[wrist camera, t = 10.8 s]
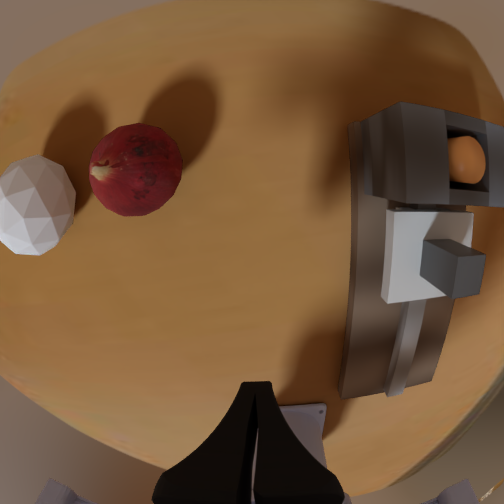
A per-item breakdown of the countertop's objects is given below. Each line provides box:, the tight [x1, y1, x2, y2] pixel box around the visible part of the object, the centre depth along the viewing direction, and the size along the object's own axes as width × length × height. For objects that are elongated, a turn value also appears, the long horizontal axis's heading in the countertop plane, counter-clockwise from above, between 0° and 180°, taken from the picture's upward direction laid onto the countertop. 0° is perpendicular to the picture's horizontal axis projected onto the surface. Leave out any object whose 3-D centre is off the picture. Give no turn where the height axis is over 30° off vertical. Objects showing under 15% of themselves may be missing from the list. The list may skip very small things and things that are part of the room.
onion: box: [89, 123, 183, 216], centre depth 15 cm, size 6×6×8 cm
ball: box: [0, 155, 76, 255], centre depth 17 cm, size 8×8×8 cm
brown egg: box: [447, 136, 486, 184], centre depth 13 cm, size 3×3×4 cm
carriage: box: [381, 207, 486, 304], centre depth 15 cm, size 6×7×6 cm
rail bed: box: [338, 102, 504, 399], centre depth 17 cm, size 23×10×8 cm, turn 3°
